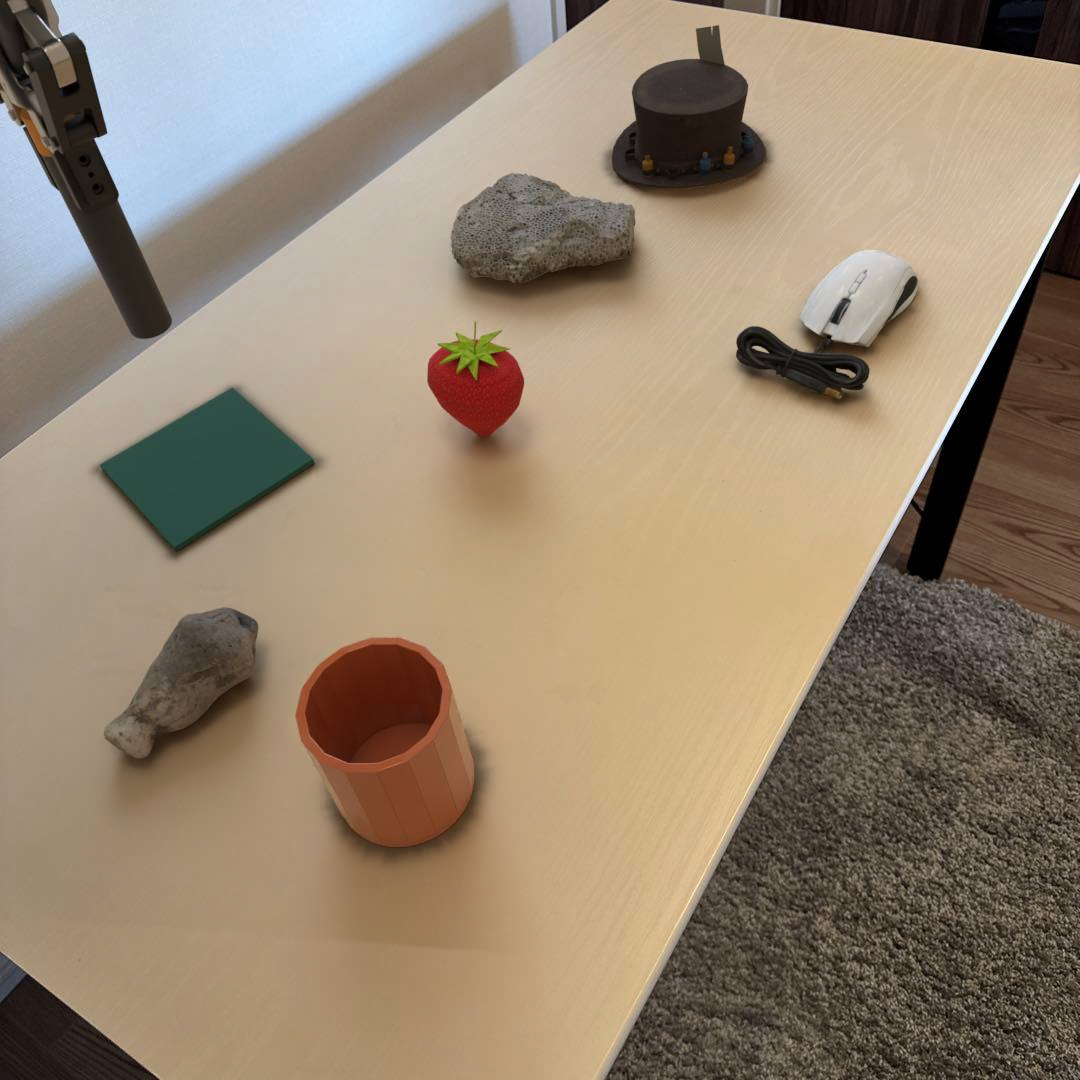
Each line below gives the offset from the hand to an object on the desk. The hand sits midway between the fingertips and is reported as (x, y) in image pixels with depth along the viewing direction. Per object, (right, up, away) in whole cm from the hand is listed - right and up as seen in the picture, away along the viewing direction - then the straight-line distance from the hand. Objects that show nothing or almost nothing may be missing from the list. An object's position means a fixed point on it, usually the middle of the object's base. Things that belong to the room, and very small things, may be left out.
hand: (87, 193), depth 56 cm
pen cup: (+17, -33, +3) cm, 37 cm away
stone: (+4, -29, +8) cm, 31 cm away
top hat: (+39, +19, +45) cm, 62 cm away
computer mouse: (+49, -2, +26) cm, 56 cm away
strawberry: (+21, -11, +22) cm, 32 cm away
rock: (+25, +7, +36) cm, 45 cm away
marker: (+1, -6, +7) cm, 9 cm away
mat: (-1, -13, +22) cm, 26 cm away
